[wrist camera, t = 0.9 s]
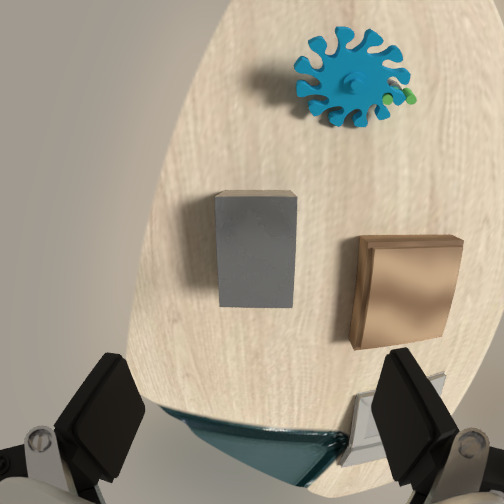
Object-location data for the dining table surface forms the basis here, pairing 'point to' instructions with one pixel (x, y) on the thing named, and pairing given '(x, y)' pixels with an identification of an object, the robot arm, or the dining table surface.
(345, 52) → the gear
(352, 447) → the grey folded flat piece
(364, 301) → the stand
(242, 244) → the grey rectangular block
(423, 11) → the dining table surface
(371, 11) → the dining table surface
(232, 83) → the dining table surface
